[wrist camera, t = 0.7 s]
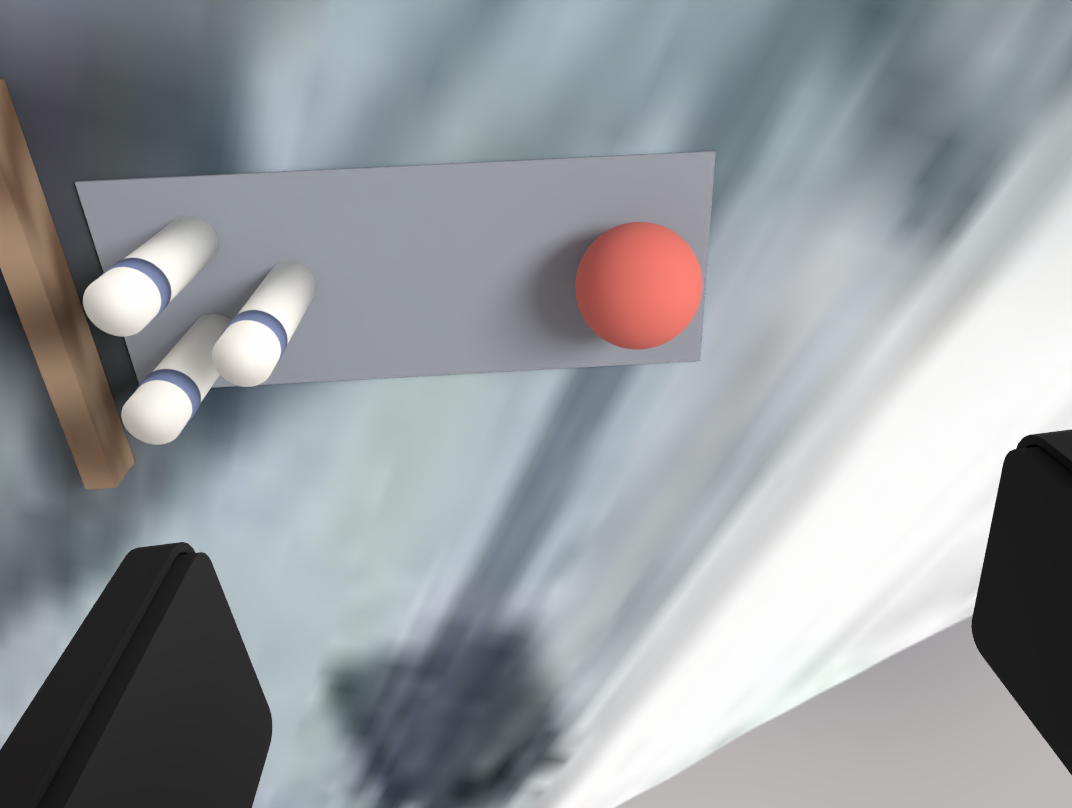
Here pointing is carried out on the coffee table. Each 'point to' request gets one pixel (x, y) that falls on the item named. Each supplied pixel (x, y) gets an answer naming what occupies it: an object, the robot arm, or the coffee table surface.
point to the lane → (413, 258)
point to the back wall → (55, 314)
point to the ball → (638, 285)
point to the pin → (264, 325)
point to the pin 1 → (150, 277)
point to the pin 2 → (175, 385)
